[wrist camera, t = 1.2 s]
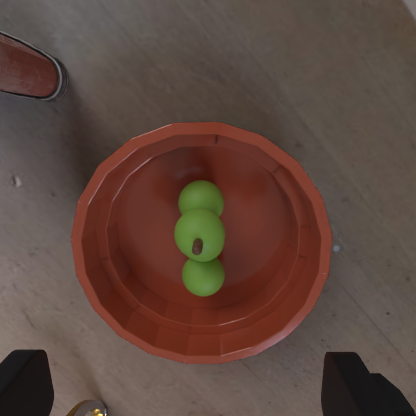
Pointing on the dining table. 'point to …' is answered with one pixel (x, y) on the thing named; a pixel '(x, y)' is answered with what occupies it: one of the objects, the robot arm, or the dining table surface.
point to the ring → (89, 408)
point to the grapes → (201, 237)
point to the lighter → (30, 71)
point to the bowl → (174, 259)
